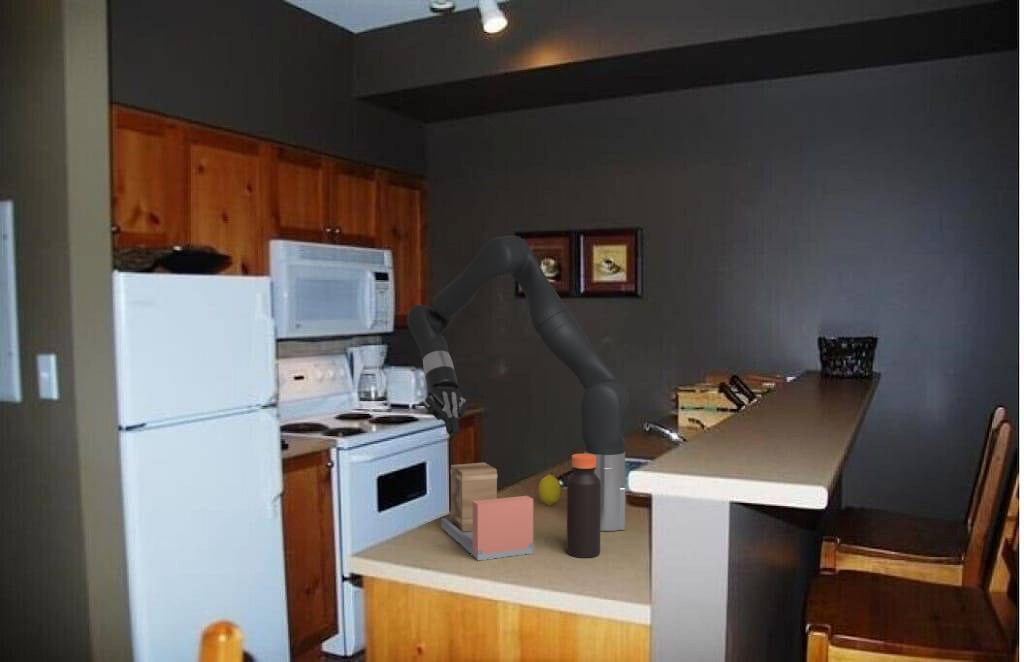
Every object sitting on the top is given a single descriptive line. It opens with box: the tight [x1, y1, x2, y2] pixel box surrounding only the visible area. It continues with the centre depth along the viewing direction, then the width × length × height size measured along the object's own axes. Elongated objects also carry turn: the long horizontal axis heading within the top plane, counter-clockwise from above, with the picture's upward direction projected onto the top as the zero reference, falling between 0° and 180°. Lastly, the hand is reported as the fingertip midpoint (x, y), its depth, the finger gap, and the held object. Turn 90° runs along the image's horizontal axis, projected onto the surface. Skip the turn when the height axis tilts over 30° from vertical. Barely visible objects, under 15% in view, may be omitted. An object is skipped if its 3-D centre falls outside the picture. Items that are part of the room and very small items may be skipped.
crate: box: [450, 462, 498, 532], centre depth 173 cm, size 8×8×13 cm
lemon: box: [538, 474, 561, 507], centre depth 195 cm, size 6×6×8 cm
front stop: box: [473, 495, 534, 555], centre depth 156 cm, size 3×12×10 cm, turn 112°
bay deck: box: [440, 517, 534, 562], centre depth 166 cm, size 24×12×2 cm, turn 22°
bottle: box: [566, 453, 601, 559], centre depth 157 cm, size 7×7×20 cm
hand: (454, 434), depth 186 cm, fingers closed
